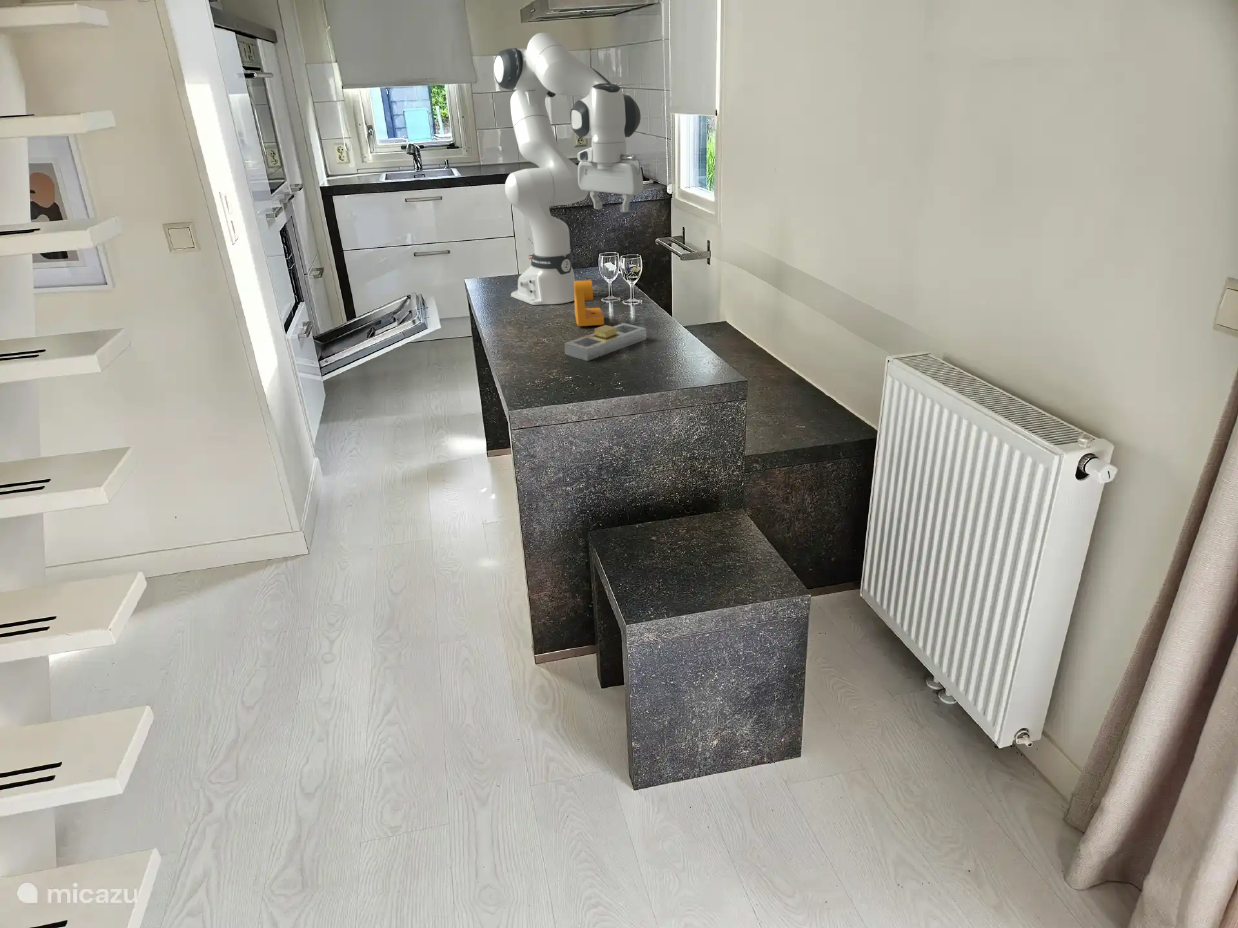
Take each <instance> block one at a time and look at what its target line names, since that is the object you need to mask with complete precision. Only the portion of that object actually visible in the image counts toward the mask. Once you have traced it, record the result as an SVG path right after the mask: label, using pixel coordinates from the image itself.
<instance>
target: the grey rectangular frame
mask: <svg viewBox="0 0 1238 928" xmlns="http://www.w3.org/2000/svg"><path fill="white" fill-rule="evenodd" d="M612 327H615V328H617V336H616V337H613V338H610V339H607V340H605V339H601V338H597V337H595V332H593V333H591V334H587V335H584V336H581V337H579V338H575V339H572V340H569V341H567V342H565V343H564V344H563V345H564V355H565V354H566V356H569V357H572V358H577V359H579V360H583V361H591V360H595V359H597V358H599V356H600V357H602V356H604V355H608V354H610V353H613V352H615V351H619V350H621V349H623V348H626V347H629V346H631V345H635V344H637V343H640V342H642V341H643V342H644V341H646V340H647V328H646V327H643V326H638V325H634V324H630V323H625V322H622V323H620V324H617V325H614V326H612Z"/></svg>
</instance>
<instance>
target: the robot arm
mask: <svg viewBox="0 0 1238 928" xmlns="http://www.w3.org/2000/svg"><path fill="white" fill-rule="evenodd" d="M493 74H494V79H495V81H496V83H497V85H499V87H500V88H503V89H506V90H509V91H513V90H515V91H513V93H512V95H511V97H510V101H509V102H510V103H509V104H510V114H511V123H512V126H513V127H512V128H513V131H514V136H515V138H516V139H515V140H516V143H517V147H518V151H519V153H520V154H521V156H522V157H523V158H524V160H526V161H528V162H530V163H533V164H535V165H536V166H537V167H534V168H533V167H531V168H523V169H519V170H517V171H514V172H513V171H512V172H511V173H510V174H508V176H507V178H506V180H505V182H504V183H505V184H504V193H505V196H506V199H507V200H508V202H509V203H510V204H511V205H512V206H513V207H514V208H516V209H517V210H518V211H519V212H521V213H522V215H523V216H524V217H525V218H526V220H527V222H528V224H529V227H530V229H531V235H532V236H531V237H532V244H533V254H529V255H528V257H529V258H528V259H529V260H531V262H530V266H529V267H527V268H526V270H525V271H524V272H523V273H522V274H520V275H519V276H518V278H517V279H518V280H517V290H513V291H512V292H511V293H510V297H511V298H514V299H517V300H519V301H521V302H525V303H527V304H530V305H533V306H539V305H557V304H565V303H570V302H573V301H574V302H575V299H574V281H576V279H575V273H574V269H573V267H572V266H573V254H572V251H571V244H570V243H571V242H570V241H571V239H570V228H569V226H568V224H567V223H566V222H564V221H563V220H562V219H559V218H558V217H555V216H553V215H552V214H551V212H550V211H551V210H550V208H551V207H555V206H563V205H572V204H575V203H578V202H581V201H584V200H585V199H586V198H587V196H588V195H589V196H590V199H591V200H592V202H593V208H594V209H595V210H601V209H603V201H600V198H599V195H600V193H608V194H617V195H618V194H619V195H622V197H621V198H622V199H623V201H622V204H619V212H621V213H628V212H629V211H630V209H629V207H630V206H629V205H630V204H631V201H632V198H633V196H636V195H637V196H638V195H641V194H642V193H643V190H644V179H643V173H642V167H641V165H642V164H641V163H642V162H641V161H640V159H639V158H638V157H637V155H629V154H627V138H630V137H631V136H632V135H633V134H635V132H636V131H637V129H638V127H639V126H640V124H641V117H642V116H641V110H640V107H639V105H638V103H637V102H636V101H635V99H634V98H633V97H631V96H630V94H629V95H628V94H624V92H623V89H622V87H620V86H619V85H617V84H615V83H612V82H610V81H609V80H608V79H607V78H606V77H605V76H604V75H603V74H602V73H600V72H599V71H597V70H596V69H594V68H593V67H592V66H589V65H588V64H586V63H584V62H583V61H581V60H580V59H579V58H577V57H576V56H575V55H574V54H573V53H571V51H570V50H569V49H568V48H567V47H566V45H565V44H564V43H563V42H562V41H561V40H560V39H558V38H557V37H556V36H554V35H553V34H551V33H549V32H539V33H535V34H534V35H533V36H532V37H531V38H530V40H529V41H528V44H527V46H526V48H517V47H512V48H511V47H510V48H506V49H502V50H500V51H499V52H498V53H497V54H496V55H495V57H494V61H493ZM556 95H558V96H573V97H574V96H575V97H583V98H581V99H578V100H577V101H576V102H575V103H574V104H573V105H572V107H571V109H570V115H569V117H570V118H569V119H570V126H571V130H572V131H573V132H574V134H575V135H576V136H577V137H579V138H582V139H591V144H590V146H591V147H588V148H586V149H584V150H581V151H579V152H578V153H577V155H576V156H577V160H578V162H579V163H578V164H576V163H574V162H573V161H571V159H569V157H567V156H566V155H565V154H564V152H563V151H562V150H561V148H560V146H559V144H558V142H557V139H556V137H555V136H556V135H555V134H554V130H553V128H552V127H553V126H552V123H551V120H550V116H549V113H548V110H547V106H546V97H547V96H548V97H549V98H555V96H556Z"/></svg>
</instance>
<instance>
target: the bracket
mask: <svg viewBox="0 0 1238 928" xmlns="http://www.w3.org/2000/svg"><path fill="white" fill-rule="evenodd" d="M593 287H594V286H593V281H592V279H588V280H575V281H574V299H575V300H574V317H575V322H576V325H577V327H589V326H604V325H605V316H604V314H603V312H602V310H601V308H600V307H590V308H586V302H585V301H593V300H594V289H593Z"/></svg>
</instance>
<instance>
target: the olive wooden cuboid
mask: <svg viewBox="0 0 1238 928" xmlns="http://www.w3.org/2000/svg"><path fill="white" fill-rule="evenodd" d="M594 333H595V337H597V338H601V339H605V340H607V339H610V338H613V337H616V336H617V328H615V327H613V326H610V325H607V324H604V325H600V326H599V327H596V328H595V327H594Z"/></svg>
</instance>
